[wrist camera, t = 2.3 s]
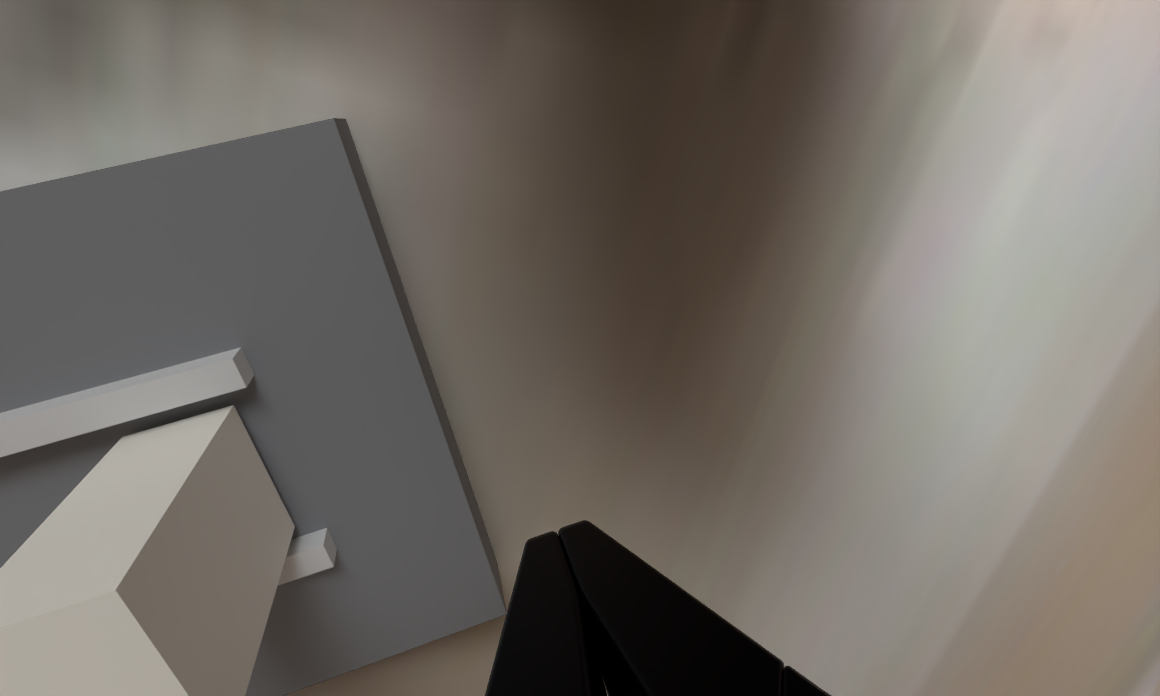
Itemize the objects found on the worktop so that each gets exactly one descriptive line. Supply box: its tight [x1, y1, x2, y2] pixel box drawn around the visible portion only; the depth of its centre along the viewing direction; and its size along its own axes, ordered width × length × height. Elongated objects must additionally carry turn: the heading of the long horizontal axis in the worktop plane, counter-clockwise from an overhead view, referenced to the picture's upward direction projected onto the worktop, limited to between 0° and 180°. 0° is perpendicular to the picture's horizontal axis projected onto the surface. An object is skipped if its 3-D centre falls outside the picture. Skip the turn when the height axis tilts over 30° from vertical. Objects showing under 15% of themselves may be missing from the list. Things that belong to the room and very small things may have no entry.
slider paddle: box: [0, 405, 295, 696], centre depth 10 cm, size 2×3×5 cm, turn 13°
